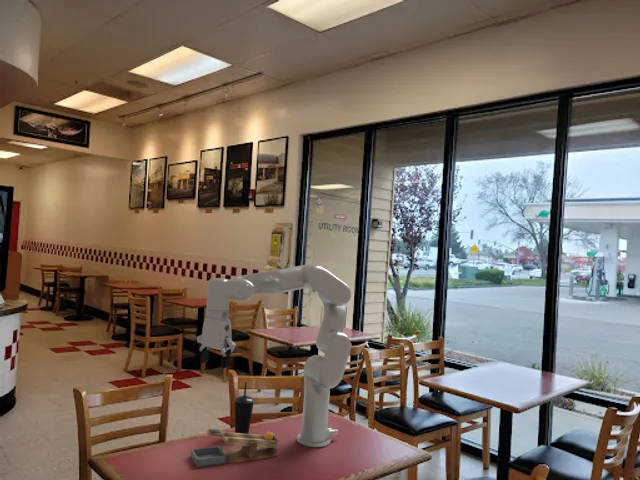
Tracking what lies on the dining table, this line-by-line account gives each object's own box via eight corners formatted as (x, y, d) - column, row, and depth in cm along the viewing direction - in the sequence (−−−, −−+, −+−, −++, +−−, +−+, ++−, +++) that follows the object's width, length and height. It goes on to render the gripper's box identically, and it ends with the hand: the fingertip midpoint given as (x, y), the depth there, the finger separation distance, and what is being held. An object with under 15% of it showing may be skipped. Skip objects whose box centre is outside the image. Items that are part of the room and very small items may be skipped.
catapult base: (269, 446, 175) (270, 431, 175) (278, 456, 168) (279, 439, 168) (219, 453, 167) (220, 436, 167) (226, 463, 159) (227, 446, 160)
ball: (270, 439, 173) (272, 430, 173) (273, 443, 170) (275, 433, 170) (262, 439, 171) (263, 430, 171) (265, 443, 168) (266, 433, 169)
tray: (218, 453, 167) (219, 446, 167) (225, 463, 159) (226, 456, 159) (190, 457, 162) (191, 449, 162) (196, 467, 155) (197, 459, 155)
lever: (265, 436, 178) (267, 427, 178) (276, 448, 169) (278, 438, 169) (206, 432, 168) (208, 423, 168) (214, 444, 159) (217, 434, 159)
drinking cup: (247, 441, 179) (252, 386, 179) (228, 438, 180) (232, 383, 181) (254, 434, 186) (258, 381, 187) (235, 431, 188) (239, 378, 188)
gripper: (244, 316, 166) (240, 367, 165) (207, 310, 175) (204, 359, 175) (228, 319, 159) (225, 371, 159) (191, 312, 169) (188, 362, 169)
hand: (214, 365), depth 167 cm, fingers open, 9 cm apart
